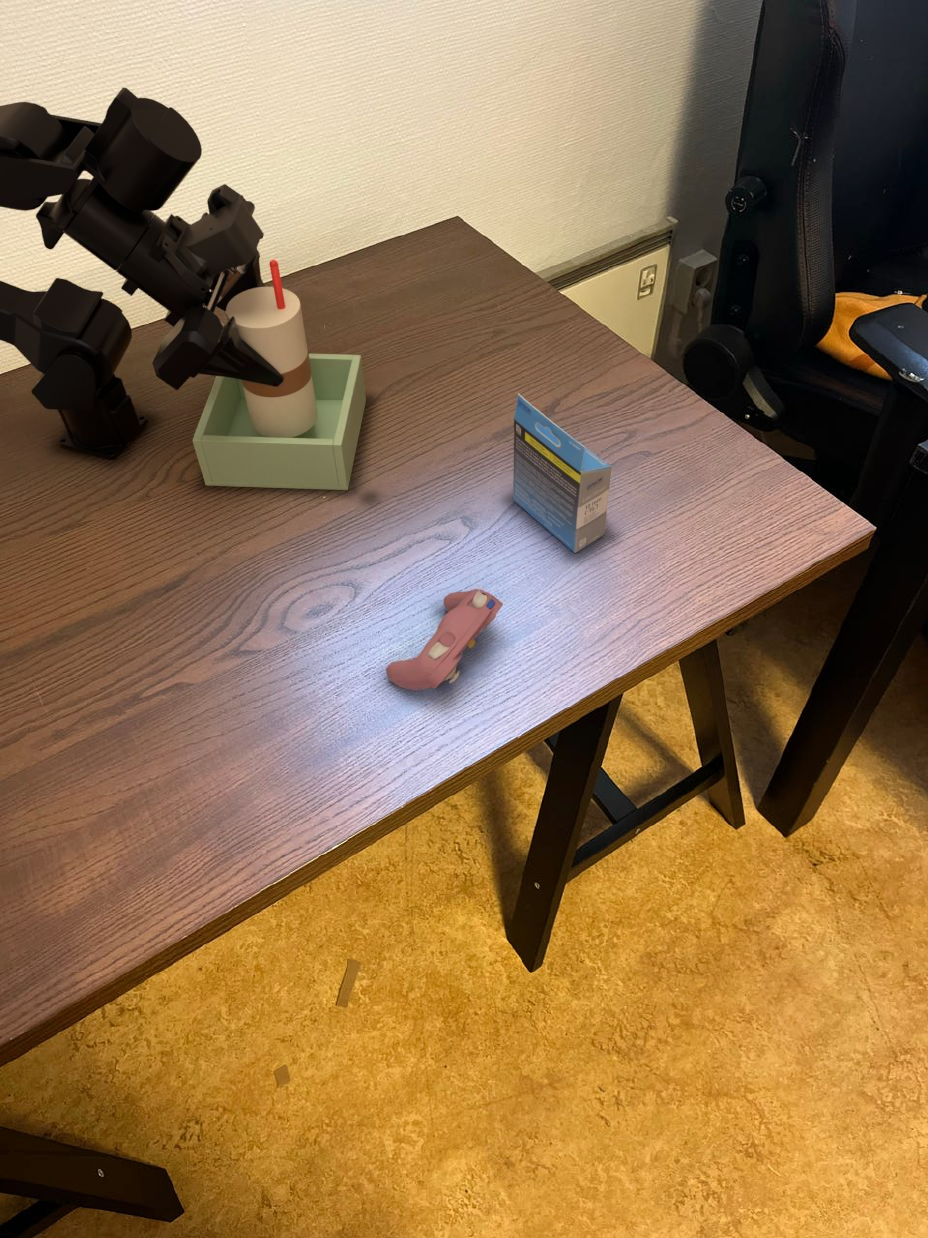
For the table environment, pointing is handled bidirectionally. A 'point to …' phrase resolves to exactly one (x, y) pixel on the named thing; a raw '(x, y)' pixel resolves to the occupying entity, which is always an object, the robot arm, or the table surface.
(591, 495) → the label tape box
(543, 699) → the table surface
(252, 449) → the bin
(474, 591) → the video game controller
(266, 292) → the straw cup
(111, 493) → the table surface
